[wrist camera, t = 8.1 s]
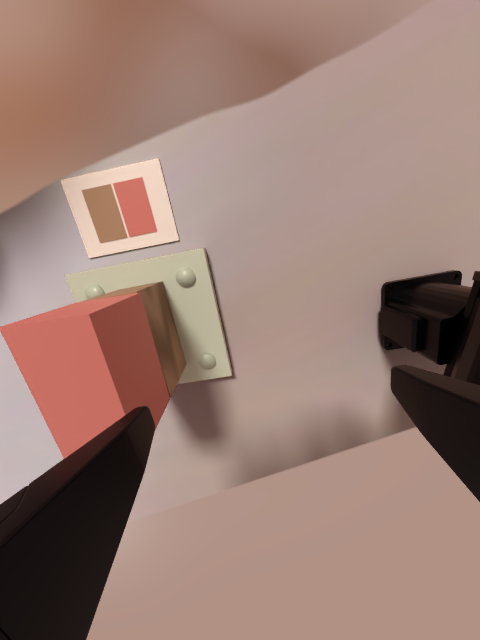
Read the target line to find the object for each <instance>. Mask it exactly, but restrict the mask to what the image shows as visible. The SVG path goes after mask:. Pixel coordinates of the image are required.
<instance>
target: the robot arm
mask: <svg viewBox="0 0 480 640" xmlns="http://www.w3.org/2000/svg"><path fill="white" fill-rule="evenodd" d="M453 275H455V276H454V278H453ZM461 279H462V273H461V272H460V271H455V270H452V271H446V272H441V273H435V274H430V275H424V276H418V277H413V278H407V279H402V280H396V281H391V282H386V283H385V284H384V285H383V286H382V307H381V321H380V332H381V333H382V347H383V348H385V349H386V350H393V349H399V348H407V349H409V350H410V351H412V352H418V353H419V354H421V355H423V356H425V357H426V358H428V359H430V360H432V361H433V362H435V363H437V364H439V365H443V364H447V366H446V369H445V372H444V375H440V374H437V373H433V372H429V371H426V370H422V369H418V368H415V367H411V366H407V365H400V366H394V367H392V369H391V390H392V393H393V394H394V396H395V397H396V399H397V400H398V401H399V403H400V404H401V406H402V407H403V408H404V410H405V411H406V413H407V414H408V416H409V417H410V418H411V420H412V421H413V423H414V424H415V425H416V427H417V428H418V429H419V431H420V432H421V433H422V435H423V436H424V437H425V438H426V440H427V441H428V442H429V443H430V444H431V445H432V447H433V448H434V449H435V450H436V451H437V452H438V454H439V455H440V456H441V457H442V458H443V459H444V461H445V462H446V463H447V464H448V465H449V466H450V468H451V469H452V470H453V471H454V472H455V474H456V475H457V476H458V477H459V478H460V479H461V481H462V482H463V483H464V484H465V485H466V486H467V488H468V489H469V490H470V491H471V492H472V493H473V495H474V496H475V497H476V498H477V499H478V500H479V502H480V271H475V272H474V276H473V279H472V280H474V283H473V286H472V287H468V286H461ZM389 286H390V289H389V290H388V287H389ZM388 343H390V344H389V345H388V346H387V344H388ZM154 432H155V422H154V419H153V417H152V414H151V411H150V409H149V407H148V406H141V407H136V408H135V409H133V410H132V411H130V412H129V413H128V414H126V415H125V416H123V417H122V418H121V419H119V420H118V421H116V422H115V423H114V424H112V425H111V426H109V427H108V428H107V429H105V430H104V431H102V432H101V433H100V434H98V435H97V436H95V437H94V438H93V439H91V440H90V441H88V442H87V443H86V444H84V445H83V446H82V447H80V448H79V449H77V450H76V451H75V452H73V453H72V454H70V455H69V456H68V457H66V458H65V459H63V460H62V461H61V462H59V463H58V464H56V465H55V466H54V467H52V468H51V469H49V470H48V471H47V472H45V473H44V474H42V475H41V476H40V477H38V478H37V479H35V480H34V481H33V482H31V483H30V484H29V486H26V487H24V488H23V489H21V490H20V491H19V492H17V493H16V494H14V495H13V496H12V497H10V498H9V499H7V500H6V501H4V502H3V503H2V504H0V640H86V638H87V636H88V633H89V630H90V627H91V624H92V621H93V618H94V615H95V612H96V610H97V606H98V604H99V601H100V598H101V595H102V592H103V590H104V587H105V584H106V581H107V578H108V575H109V572H110V569H111V567H112V563H113V561H114V558H115V555H116V552H117V549H118V547H119V543H120V541H121V538H122V535H123V532H124V529H125V526H126V524H127V521H128V518H129V515H130V512H131V509H132V506H133V504H134V501H135V498H136V495H137V492H138V489H139V486H140V483H141V481H142V478H143V474H144V471H145V468H146V464H147V460H148V456H149V452H150V448H151V444H152V440H153V436H154Z"/></svg>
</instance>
